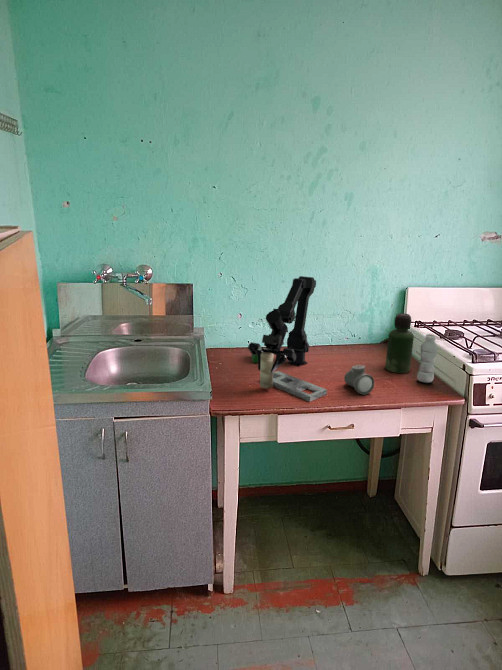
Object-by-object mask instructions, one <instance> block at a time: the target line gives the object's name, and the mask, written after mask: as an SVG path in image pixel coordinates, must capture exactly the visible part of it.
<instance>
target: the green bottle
mask: <svg viewBox="0 0 502 670" xmlns="http://www.w3.org/2000/svg"><path fill="white" fill-rule="evenodd" d="M393 325H394V328H395V329H392V330H391V331H389V333H388V338H387V339H388V340H387V349H386V358H385V366H384V368H385V369H386V370H387V371H388V372H390V373H397V374H406V373H409V372H410V370H411V364H412V363H411V362H412V354H413V347H414V339H415V336H414V334H413V332H412V331H410V329H411V326H412V316H411V315H410V314H409V313H402V312H401V313H398V314H396V316H395V317H394V324H393Z"/></svg>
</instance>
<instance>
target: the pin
mask: <svg viewBox="0 0 502 670" xmlns="http://www.w3.org/2000/svg"><path fill="white" fill-rule="evenodd" d="M274 358H275V354H273V353H270V352H264V353H261V364H260V370H259V371H260V372H259V387H260V388H262V389H272V388H273V387H274V386H273V373H271V370H272V367H273V364H274V362H275V360H274Z"/></svg>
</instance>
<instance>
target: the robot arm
mask: <svg viewBox="0 0 502 670" xmlns="http://www.w3.org/2000/svg"><path fill="white" fill-rule="evenodd" d="M316 286H317V280H316V279H315V278H314V277H313V276H312V277H311V276H303V275H299V276H298V278H297V277H295V278H293V279H292V284H291V287H290V289H289V291H288V293H287V295H286V298H285V300H284V302H283V303H282V304H279V306H278V308H273V310H271V311H268V313H267V314H266V315H265V321H266V322H267V324H268V326H269V329H271V332H270V333H269V334H263V335H262V339H261V344H263V345H264V347H263V346H261V345H260V343H256V342H249V344H248V346H247V348H248V349H247V350H248V351H250V353H251V355H252V354H253V355H257V356H258V362H257V364H258V365H257V366H258V367H257V370H258V371H260V364H261V353H264V352H270V353H273V354H274V356H275V360H274V363H273V367H272V370H271V373H273V372H276V370H277V369H278V368H279V367H280V366H281V365H283V364H285V363H287V364H290V365H293V366H296V367H301V366H303V365H306V364H308V361H306V353H309V352H310V351H309V350H310V343H309V342H308V339H307V338H308V336H307V334H306V330H305V328H306V321H307V314H308V307H309V302H310V301H309V300H310V298H311V296H312V295H313V293H314V292H315V288H316ZM295 308H296V311H295ZM293 322H294V324H293V328H292V330H290V331H289V327H288V325H287V324H292V323H293ZM287 333H288V337H287V339H286V338H285V337H286V335H287ZM285 339H286V345H287V347H285V348H283V349H282V346H284V345H285V341H284V340H285Z"/></svg>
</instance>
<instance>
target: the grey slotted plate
mask: <svg viewBox="0 0 502 670" xmlns="http://www.w3.org/2000/svg"><path fill="white" fill-rule="evenodd" d="M273 387H274V388H276V389H279V390H281V391H284V392H286V393H289V394H291V395H293V396H296V397H298V398H301V399H302V400H305V401H307V402H312V401H315V400H317V399H320V398H321V397H324V396H327V395H328V389H326V388H324V387H321V386H319V385H316V384H313V383H311V382H308V381H305V380H304V379H301V378H297V377H295V376H292V375H290V374H287V373H285V372H282V371H279V370H277V371H276V370H275V371H274V372H273ZM305 390H309V391H311V392H312V393H307V392H304V391H305Z"/></svg>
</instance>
